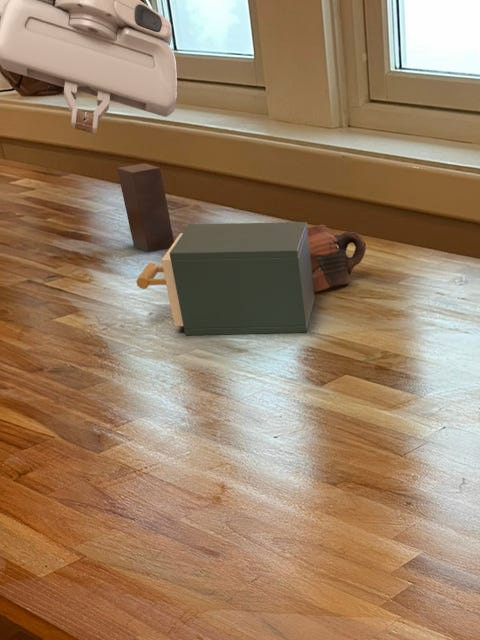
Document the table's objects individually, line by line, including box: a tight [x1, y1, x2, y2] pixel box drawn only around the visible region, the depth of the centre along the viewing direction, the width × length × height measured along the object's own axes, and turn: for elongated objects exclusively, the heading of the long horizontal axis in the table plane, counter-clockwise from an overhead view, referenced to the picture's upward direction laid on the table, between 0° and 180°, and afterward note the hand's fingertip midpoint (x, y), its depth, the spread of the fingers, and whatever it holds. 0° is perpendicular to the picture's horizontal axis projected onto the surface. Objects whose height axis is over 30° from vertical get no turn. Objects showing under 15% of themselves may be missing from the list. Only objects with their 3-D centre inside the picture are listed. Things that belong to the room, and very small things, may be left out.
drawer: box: [136, 232, 184, 327], centre depth 118 cm, size 18×11×8 cm, turn 93°
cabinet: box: [169, 221, 316, 336], centre depth 119 cm, size 15×13×10 cm
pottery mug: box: [307, 224, 367, 293], centre depth 132 cm, size 12×9×8 cm
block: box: [116, 162, 175, 253], centre depth 143 cm, size 4×4×11 cm
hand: (83, 129), depth 117 cm, fingers closed
